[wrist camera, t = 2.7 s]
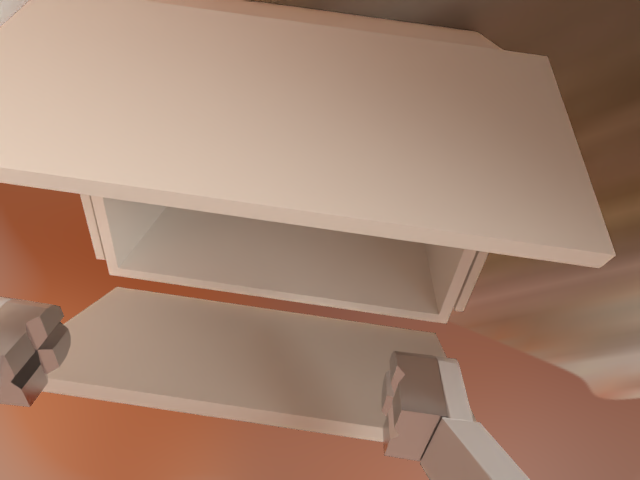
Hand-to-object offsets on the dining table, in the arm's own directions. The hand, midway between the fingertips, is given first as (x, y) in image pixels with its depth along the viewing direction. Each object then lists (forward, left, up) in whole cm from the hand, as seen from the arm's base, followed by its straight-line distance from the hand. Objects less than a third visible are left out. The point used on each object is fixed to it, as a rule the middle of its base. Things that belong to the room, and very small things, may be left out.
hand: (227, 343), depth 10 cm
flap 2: (0, +4, -4) cm, 6 cm away
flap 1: (0, -5, -4) cm, 6 cm away
